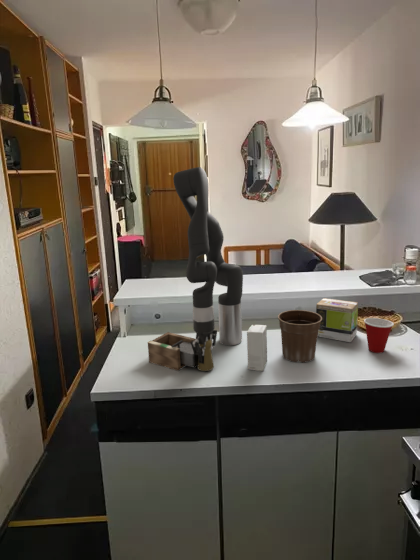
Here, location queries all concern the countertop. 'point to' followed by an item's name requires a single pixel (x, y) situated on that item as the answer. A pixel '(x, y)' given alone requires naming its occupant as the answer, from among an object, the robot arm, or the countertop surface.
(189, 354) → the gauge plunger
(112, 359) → the countertop surface
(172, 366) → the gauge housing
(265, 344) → the skincare box
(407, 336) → the countertop surface
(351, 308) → the tea box
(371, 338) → the plastic cup
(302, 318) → the plant pot
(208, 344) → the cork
